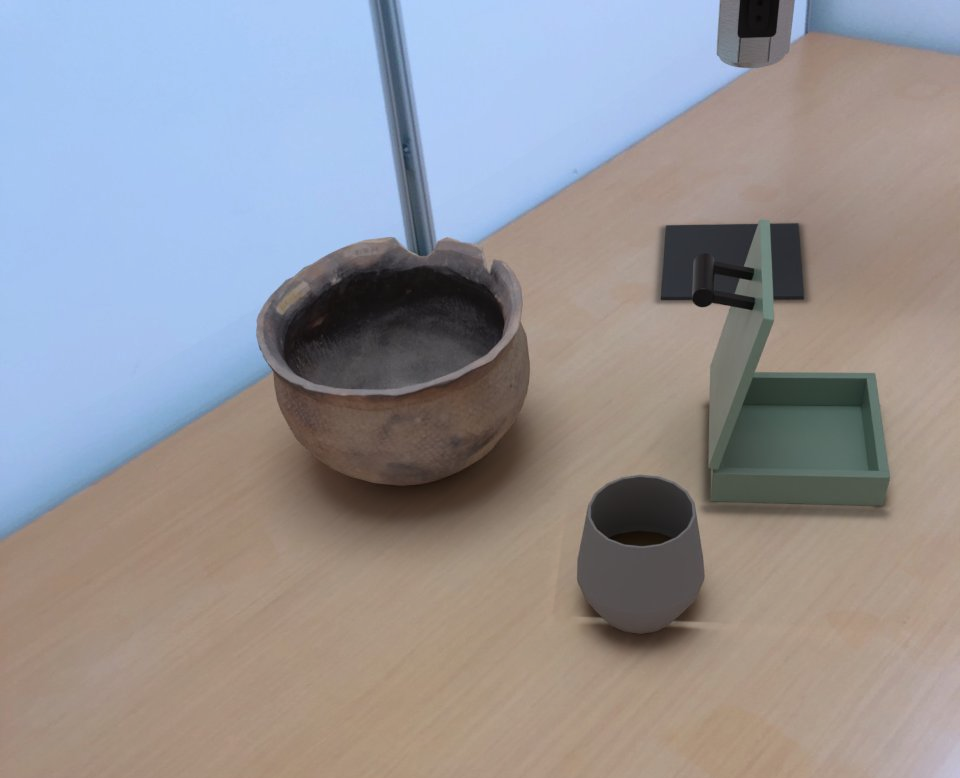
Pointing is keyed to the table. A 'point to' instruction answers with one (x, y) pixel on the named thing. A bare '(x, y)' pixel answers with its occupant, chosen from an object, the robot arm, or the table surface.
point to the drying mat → (729, 257)
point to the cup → (640, 553)
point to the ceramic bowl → (398, 358)
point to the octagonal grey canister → (752, 49)
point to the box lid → (736, 332)
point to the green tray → (806, 442)
